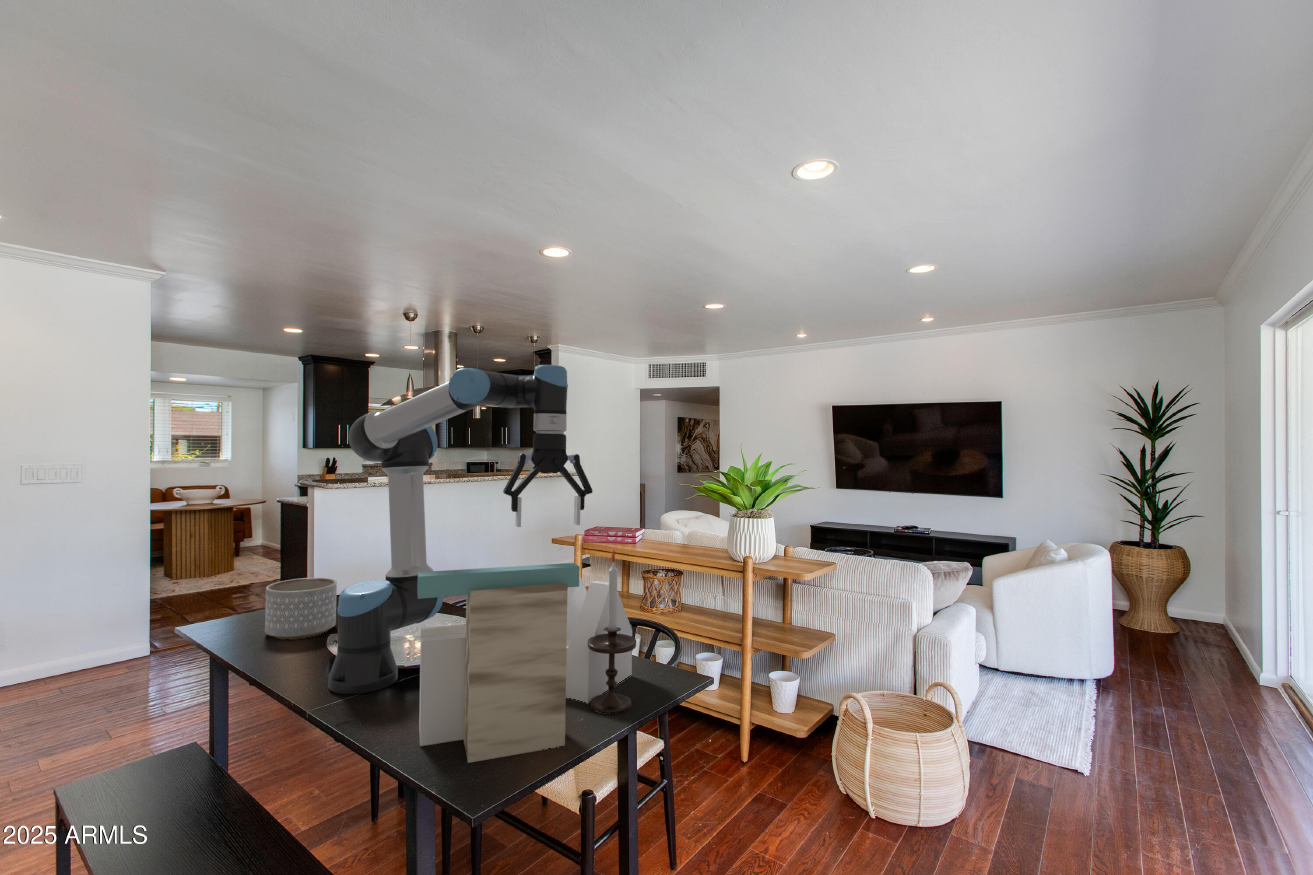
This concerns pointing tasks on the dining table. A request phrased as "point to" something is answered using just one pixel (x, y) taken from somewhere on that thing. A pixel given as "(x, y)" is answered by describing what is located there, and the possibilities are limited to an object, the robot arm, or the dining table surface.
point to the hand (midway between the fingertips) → (548, 525)
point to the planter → (300, 607)
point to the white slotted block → (582, 624)
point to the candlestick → (611, 652)
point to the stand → (515, 670)
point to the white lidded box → (442, 684)
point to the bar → (494, 579)
